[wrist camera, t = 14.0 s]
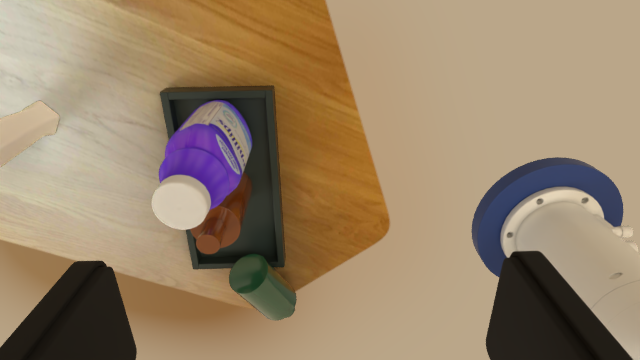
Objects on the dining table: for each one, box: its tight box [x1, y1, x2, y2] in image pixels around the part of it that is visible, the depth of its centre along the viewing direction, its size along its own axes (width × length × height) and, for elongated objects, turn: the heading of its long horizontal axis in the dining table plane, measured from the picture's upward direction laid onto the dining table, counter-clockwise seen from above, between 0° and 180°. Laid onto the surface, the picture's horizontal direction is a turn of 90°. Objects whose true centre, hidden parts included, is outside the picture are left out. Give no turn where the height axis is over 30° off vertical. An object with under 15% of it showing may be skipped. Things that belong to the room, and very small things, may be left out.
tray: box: [160, 86, 285, 269], centre depth 48 cm, size 12×23×2 cm, turn 1°
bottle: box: [152, 100, 252, 230], centre depth 37 cm, size 7×6×17 cm
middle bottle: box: [190, 172, 253, 254], centre depth 43 cm, size 5×5×12 cm
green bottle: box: [229, 254, 296, 320], centre depth 52 cm, size 5×5×12 cm
